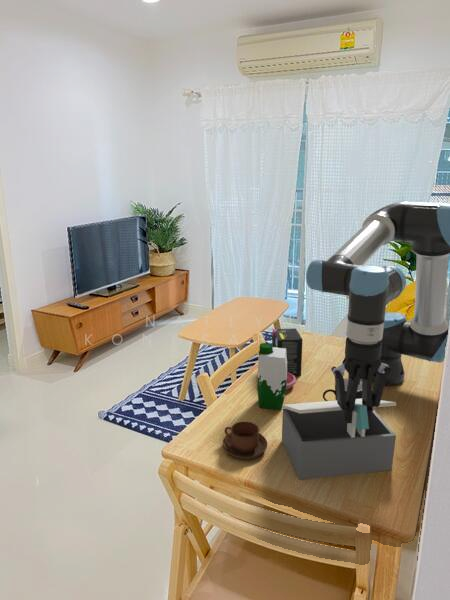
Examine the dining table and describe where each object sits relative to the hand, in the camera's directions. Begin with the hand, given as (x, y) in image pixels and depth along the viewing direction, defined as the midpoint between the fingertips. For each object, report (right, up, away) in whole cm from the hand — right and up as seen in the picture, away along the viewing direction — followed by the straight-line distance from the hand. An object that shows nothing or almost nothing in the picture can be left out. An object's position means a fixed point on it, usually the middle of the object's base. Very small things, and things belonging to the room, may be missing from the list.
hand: (355, 433), depth 101 cm
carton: (-1, -10, +14) cm, 18 cm away
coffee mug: (+6, -4, +34) cm, 35 cm away
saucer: (-12, +1, +52) cm, 53 cm away
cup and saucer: (-25, -10, +17) cm, 32 cm away
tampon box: (-7, +4, +63) cm, 64 cm away
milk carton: (-15, -3, +40) cm, 43 cm away
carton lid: (-1, +1, +7) cm, 7 cm away
